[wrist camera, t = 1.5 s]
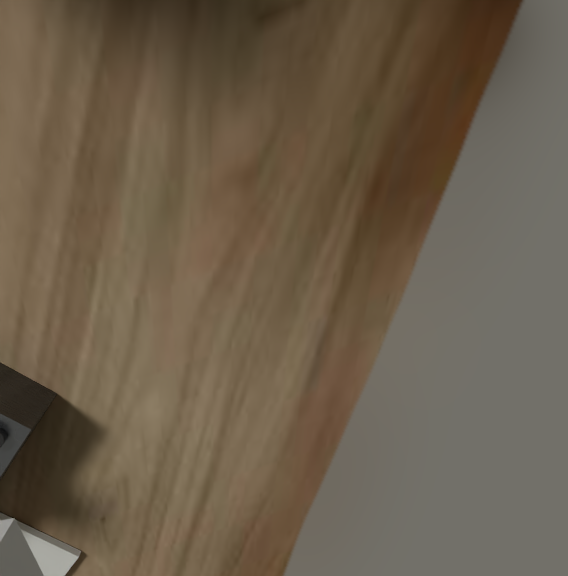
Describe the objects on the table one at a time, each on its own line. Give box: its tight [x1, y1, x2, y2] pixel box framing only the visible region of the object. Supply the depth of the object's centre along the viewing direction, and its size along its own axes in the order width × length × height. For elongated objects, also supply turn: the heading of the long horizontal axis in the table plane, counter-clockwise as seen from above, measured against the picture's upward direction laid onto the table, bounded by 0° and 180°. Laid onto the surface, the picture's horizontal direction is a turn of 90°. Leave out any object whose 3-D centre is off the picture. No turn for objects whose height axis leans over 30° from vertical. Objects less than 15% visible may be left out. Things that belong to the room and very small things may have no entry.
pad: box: [0, 513, 81, 576], centre depth 45 cm, size 8×8×1 cm
